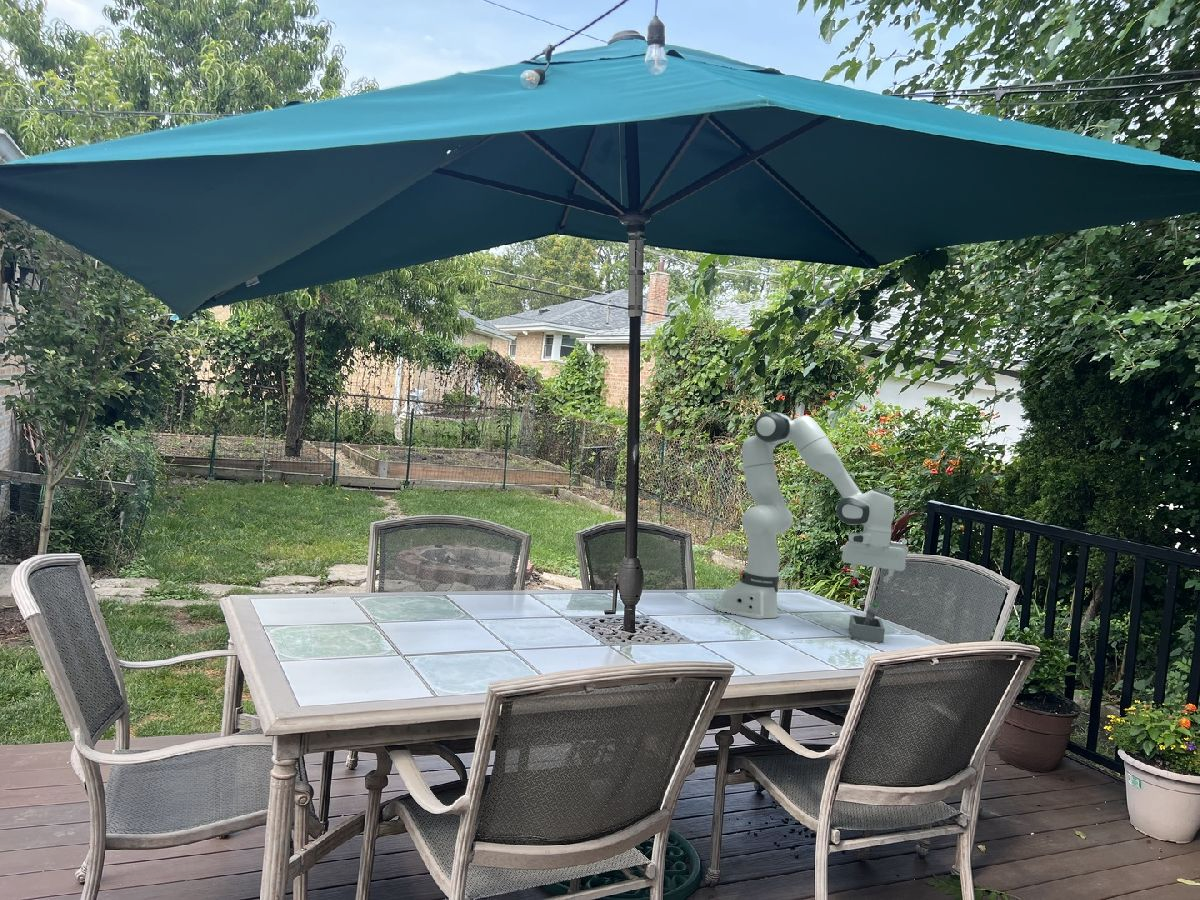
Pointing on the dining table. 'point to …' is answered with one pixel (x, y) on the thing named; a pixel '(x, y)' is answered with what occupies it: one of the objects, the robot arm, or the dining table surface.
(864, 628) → the bin
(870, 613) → the mechanical component
